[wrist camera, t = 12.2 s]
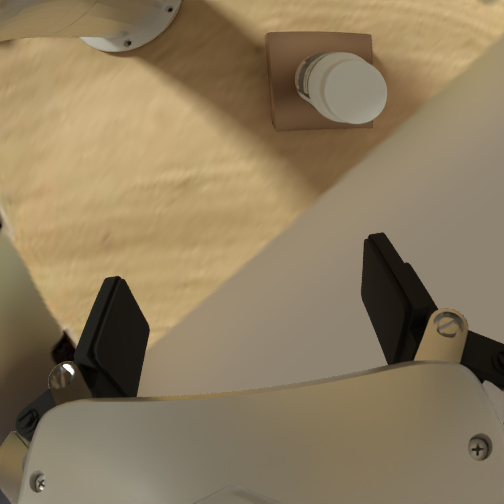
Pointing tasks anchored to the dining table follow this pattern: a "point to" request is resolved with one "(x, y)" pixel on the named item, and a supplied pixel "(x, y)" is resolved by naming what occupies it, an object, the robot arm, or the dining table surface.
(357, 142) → the dining table surface
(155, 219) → the dining table surface
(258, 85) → the dining table surface
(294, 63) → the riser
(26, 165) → the dining table surface
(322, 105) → the pill bottle
